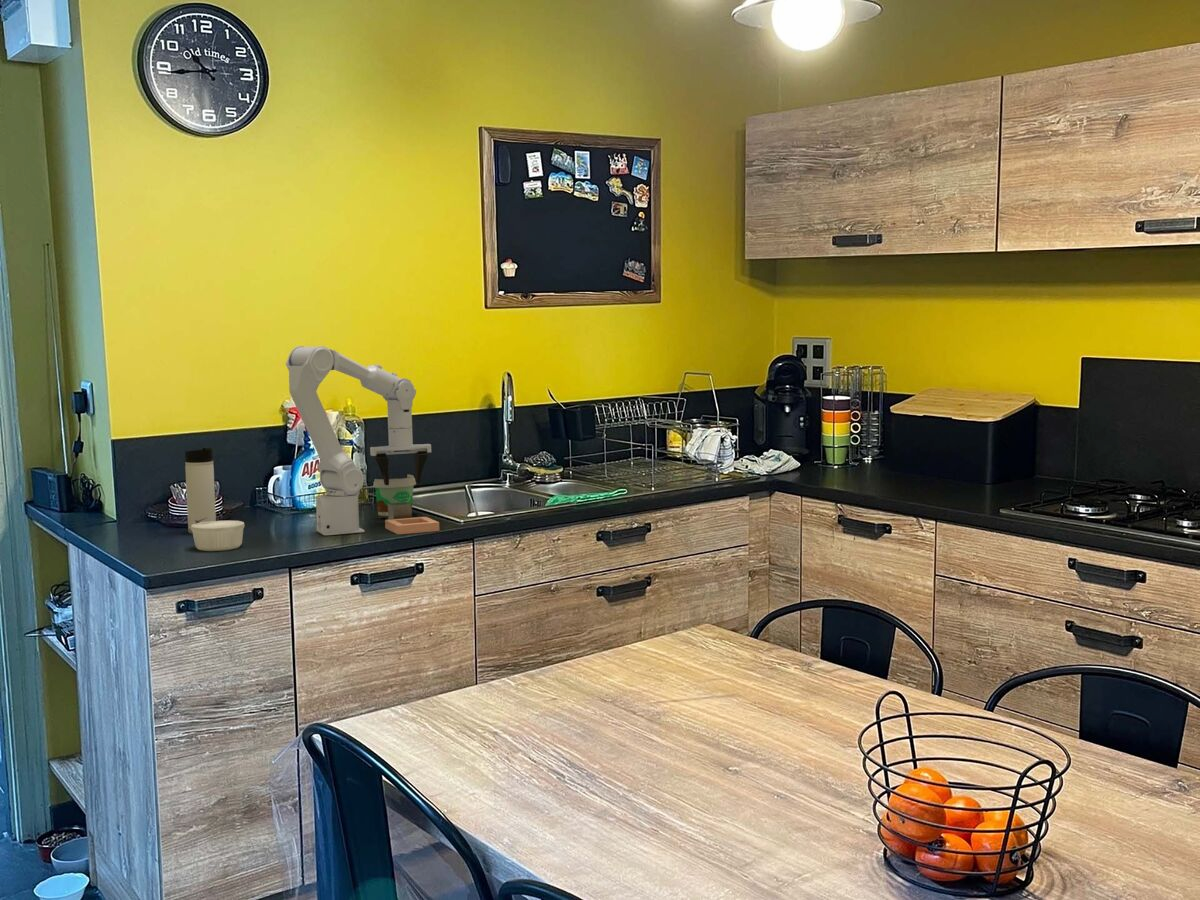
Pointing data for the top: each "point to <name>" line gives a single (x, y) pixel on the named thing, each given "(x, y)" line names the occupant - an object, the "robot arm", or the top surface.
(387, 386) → the robot arm
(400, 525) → the hole plate
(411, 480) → the food container
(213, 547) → the ramekin
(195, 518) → the travel mug
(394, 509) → the steel block
